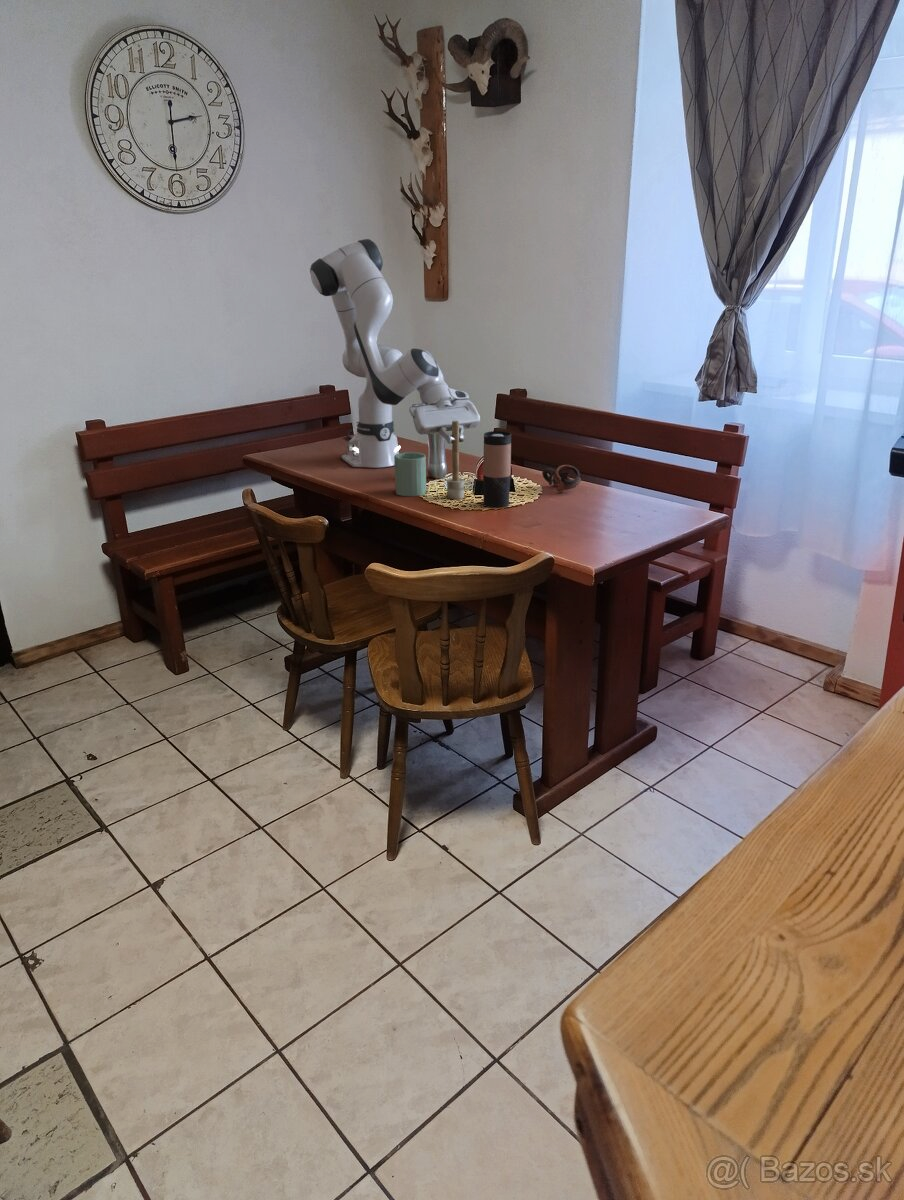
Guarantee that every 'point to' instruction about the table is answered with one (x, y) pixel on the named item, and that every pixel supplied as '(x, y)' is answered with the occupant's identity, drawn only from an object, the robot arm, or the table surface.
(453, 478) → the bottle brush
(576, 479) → the dark looped ring
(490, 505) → the travel mug
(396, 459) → the cup
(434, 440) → the silver metal bottle
